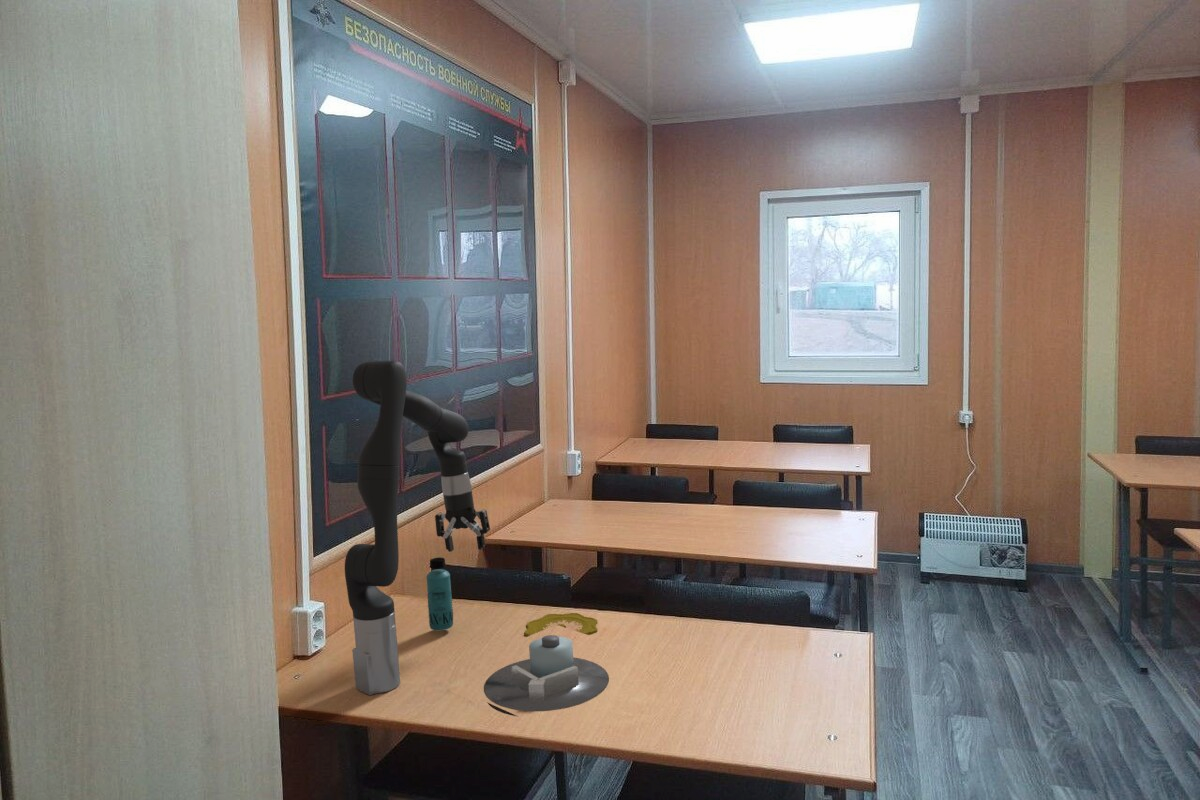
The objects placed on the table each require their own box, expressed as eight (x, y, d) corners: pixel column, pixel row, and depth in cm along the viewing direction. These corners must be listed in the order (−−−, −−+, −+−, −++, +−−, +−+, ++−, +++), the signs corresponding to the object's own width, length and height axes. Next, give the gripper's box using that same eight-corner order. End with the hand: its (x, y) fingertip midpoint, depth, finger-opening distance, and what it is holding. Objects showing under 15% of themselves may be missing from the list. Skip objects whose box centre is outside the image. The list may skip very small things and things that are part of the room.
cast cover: (551, 682, 198) (549, 650, 197) (521, 671, 205) (519, 640, 204) (582, 667, 205) (581, 636, 204) (553, 657, 212) (551, 627, 211)
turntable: (502, 661, 214) (500, 639, 214) (616, 662, 210) (615, 640, 210) (468, 716, 187) (466, 691, 186) (599, 719, 183) (598, 693, 182)
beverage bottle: (427, 630, 238) (421, 557, 236) (451, 625, 241) (445, 553, 238) (433, 638, 232) (427, 564, 230) (457, 632, 235) (452, 559, 232)
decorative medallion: (598, 614, 244) (598, 609, 244) (597, 642, 225) (597, 636, 224) (527, 617, 244) (527, 612, 244) (521, 645, 225) (520, 640, 225)
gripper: (426, 496, 232) (435, 555, 234) (477, 492, 228) (486, 552, 230) (437, 489, 239) (446, 547, 241) (487, 485, 236) (496, 544, 237)
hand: (466, 549), depth 236 cm, fingers open, 8 cm apart
